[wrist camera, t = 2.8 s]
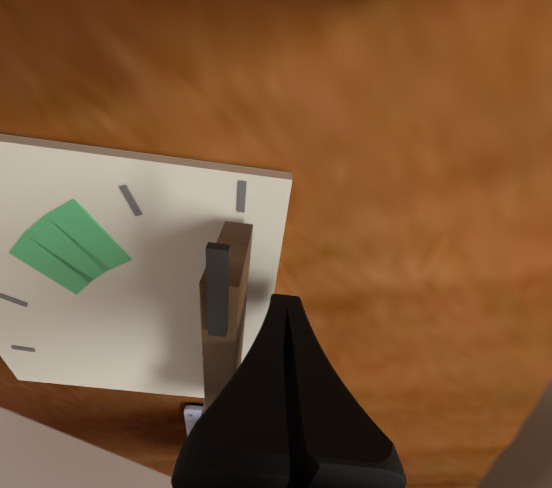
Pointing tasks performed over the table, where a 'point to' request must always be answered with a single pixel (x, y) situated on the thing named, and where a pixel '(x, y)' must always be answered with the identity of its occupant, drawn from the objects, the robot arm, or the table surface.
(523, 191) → the table surface
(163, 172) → the tuner dial board
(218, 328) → the tuning lever
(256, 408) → the robot arm
